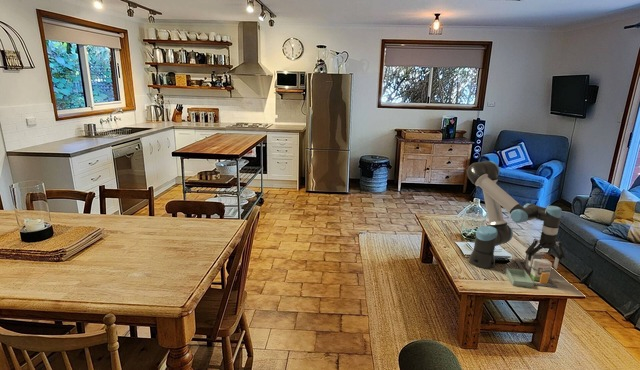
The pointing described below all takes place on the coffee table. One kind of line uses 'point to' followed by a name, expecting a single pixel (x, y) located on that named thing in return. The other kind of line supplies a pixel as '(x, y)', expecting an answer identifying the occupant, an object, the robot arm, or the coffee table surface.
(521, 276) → the tray
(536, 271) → the ink box
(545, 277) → the grey rectangular frame
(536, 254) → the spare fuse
